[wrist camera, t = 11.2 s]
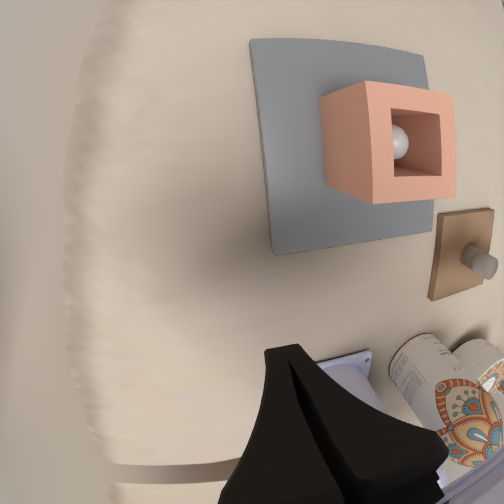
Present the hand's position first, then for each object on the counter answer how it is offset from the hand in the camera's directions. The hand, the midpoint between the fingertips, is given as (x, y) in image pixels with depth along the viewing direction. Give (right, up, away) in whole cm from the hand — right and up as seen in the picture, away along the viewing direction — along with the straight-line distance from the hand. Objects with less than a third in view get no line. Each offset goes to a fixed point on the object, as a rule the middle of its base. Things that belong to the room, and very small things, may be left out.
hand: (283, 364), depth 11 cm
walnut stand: (+19, +5, +12) cm, 22 cm away
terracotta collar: (+6, +12, +6) cm, 14 cm away
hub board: (+6, +12, +7) cm, 15 cm away
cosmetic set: (+25, -9, +18) cm, 32 cm away
